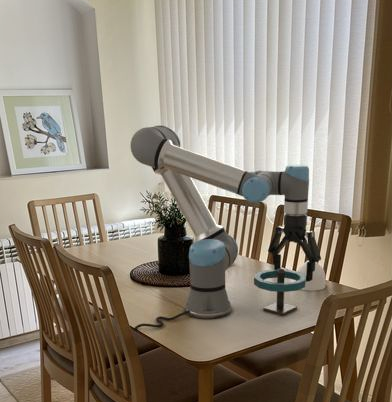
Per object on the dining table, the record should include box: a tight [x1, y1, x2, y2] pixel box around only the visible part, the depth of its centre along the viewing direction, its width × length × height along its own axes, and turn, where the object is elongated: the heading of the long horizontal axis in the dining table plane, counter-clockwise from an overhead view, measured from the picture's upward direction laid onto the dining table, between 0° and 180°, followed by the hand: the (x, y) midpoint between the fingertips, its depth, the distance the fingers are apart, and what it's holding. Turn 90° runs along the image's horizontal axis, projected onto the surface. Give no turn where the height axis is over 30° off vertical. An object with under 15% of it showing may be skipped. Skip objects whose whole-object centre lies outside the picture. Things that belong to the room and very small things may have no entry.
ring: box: [253, 269, 306, 293], centre depth 180 cm, size 17×17×2 cm
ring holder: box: [262, 267, 298, 317], centre depth 181 cm, size 8×8×14 cm
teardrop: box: [297, 259, 326, 292], centre depth 205 cm, size 11×11×12 cm
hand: (292, 277), depth 186 cm, fingers closed on ring, 12 cm apart
